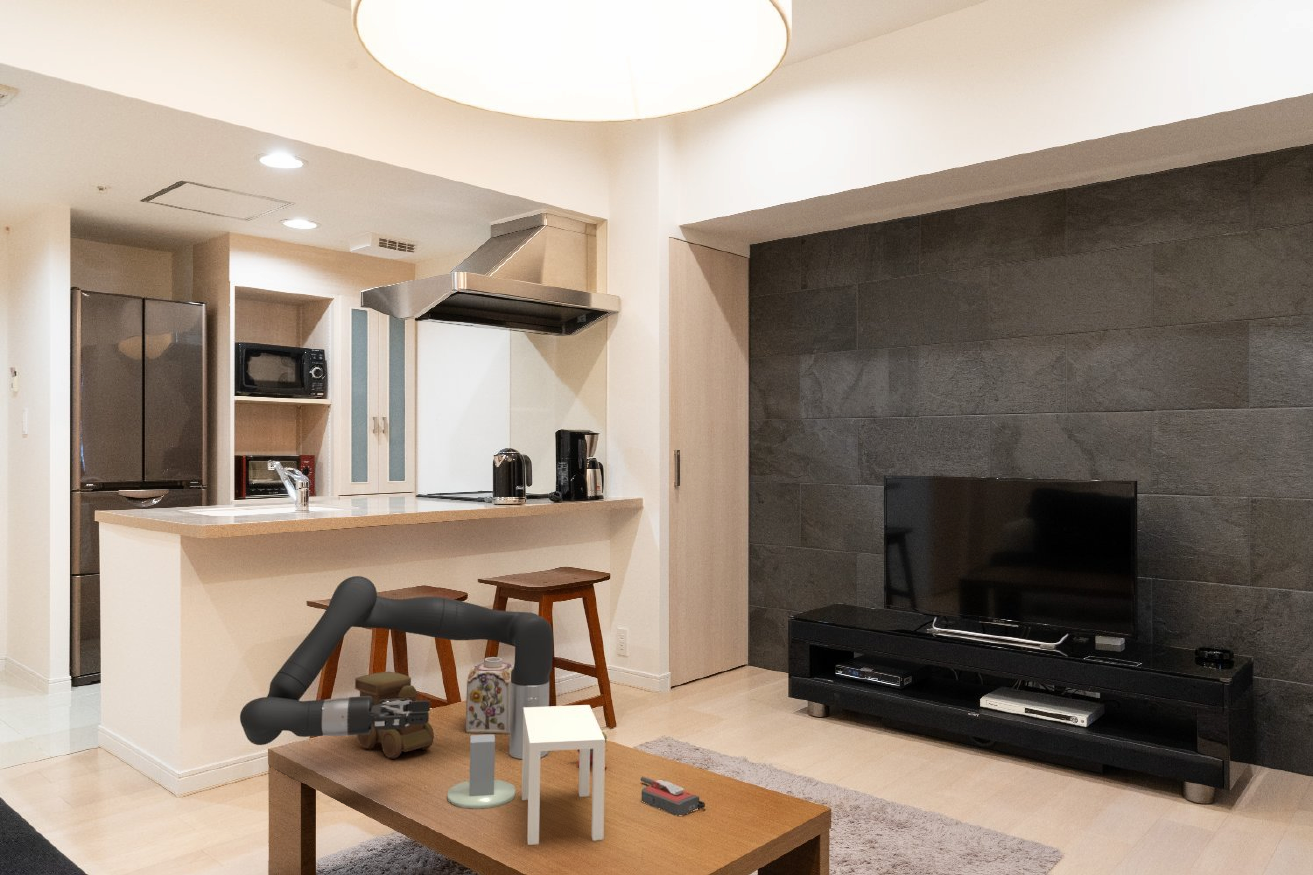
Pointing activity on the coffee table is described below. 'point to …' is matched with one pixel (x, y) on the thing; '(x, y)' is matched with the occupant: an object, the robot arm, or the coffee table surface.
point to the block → (482, 765)
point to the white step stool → (562, 733)
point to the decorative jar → (489, 697)
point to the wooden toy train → (393, 739)
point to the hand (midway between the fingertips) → (429, 711)
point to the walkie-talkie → (669, 797)
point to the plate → (462, 799)
